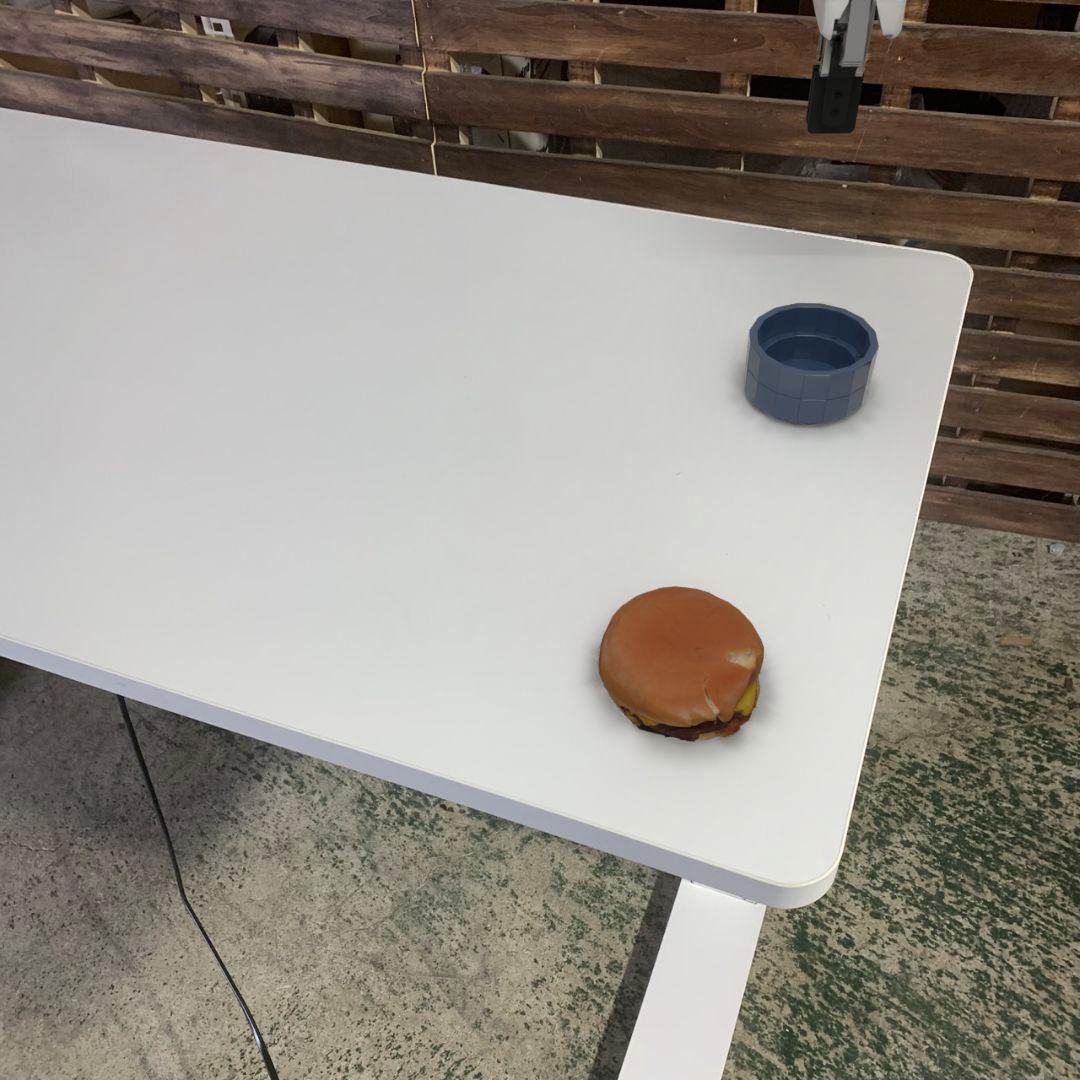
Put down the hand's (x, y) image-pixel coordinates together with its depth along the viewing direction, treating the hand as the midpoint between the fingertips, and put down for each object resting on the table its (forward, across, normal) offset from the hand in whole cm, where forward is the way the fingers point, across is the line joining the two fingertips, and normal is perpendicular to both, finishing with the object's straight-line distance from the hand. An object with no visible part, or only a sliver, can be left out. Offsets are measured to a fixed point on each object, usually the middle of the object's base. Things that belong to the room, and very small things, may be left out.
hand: (829, 127), depth 68 cm
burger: (+17, -36, +9) cm, 41 cm away
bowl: (+17, -8, 0) cm, 19 cm away
